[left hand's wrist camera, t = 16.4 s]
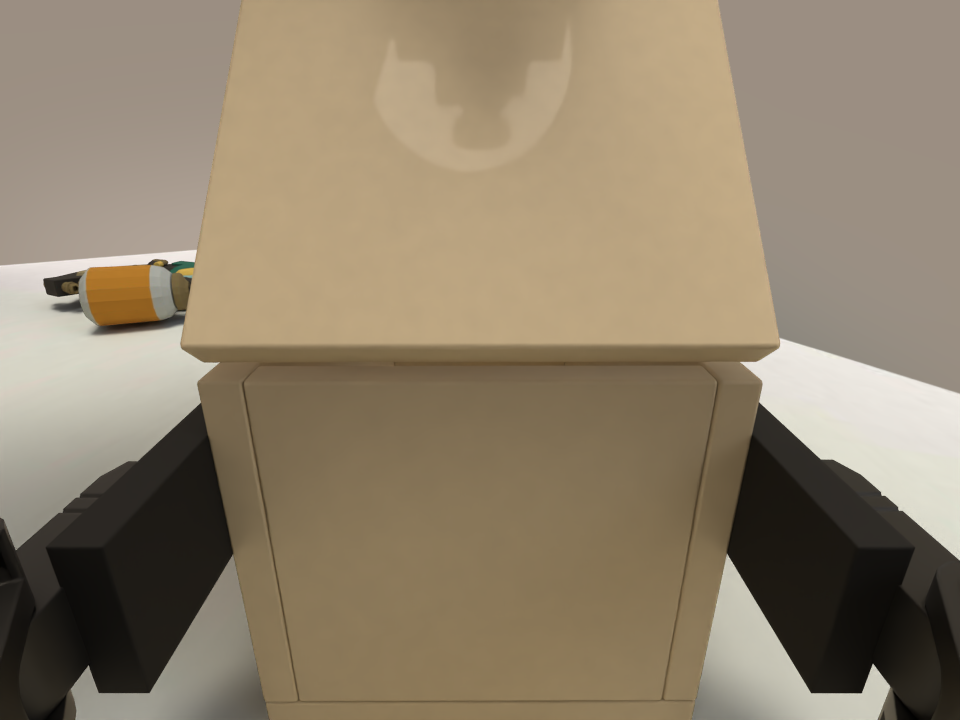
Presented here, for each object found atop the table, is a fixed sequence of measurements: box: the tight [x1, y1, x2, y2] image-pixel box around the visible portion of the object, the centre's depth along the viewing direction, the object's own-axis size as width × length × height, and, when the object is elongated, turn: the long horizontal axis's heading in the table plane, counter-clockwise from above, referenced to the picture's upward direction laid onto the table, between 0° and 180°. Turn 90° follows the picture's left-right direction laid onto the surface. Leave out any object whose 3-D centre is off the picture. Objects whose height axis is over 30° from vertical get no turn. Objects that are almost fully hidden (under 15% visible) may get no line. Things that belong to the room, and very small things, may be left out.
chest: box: [197, 362, 762, 720], centre depth 19 cm, size 17×10×9 cm, turn 0°
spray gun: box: [43, 259, 195, 326], centre depth 45 cm, size 4×17×15 cm
